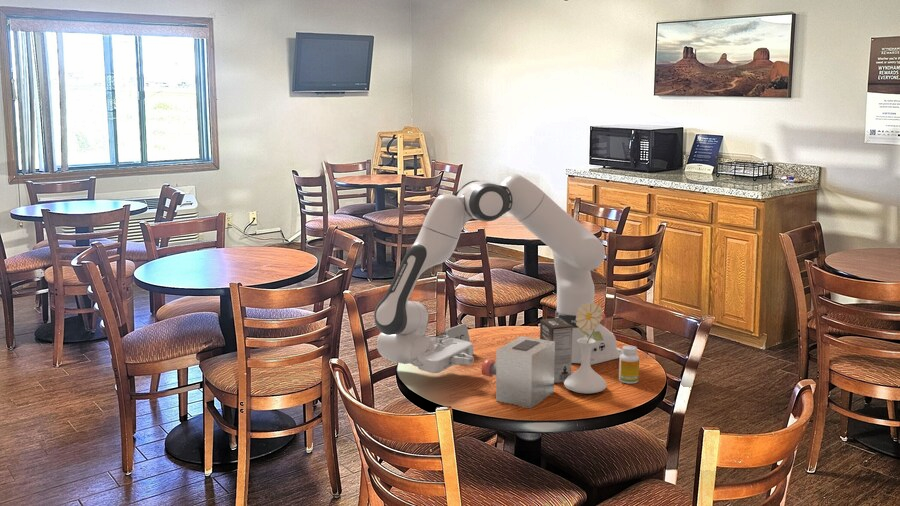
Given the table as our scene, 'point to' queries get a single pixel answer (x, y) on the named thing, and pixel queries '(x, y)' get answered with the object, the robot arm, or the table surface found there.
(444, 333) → the electrical switch
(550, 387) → the box
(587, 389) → the flower in vase
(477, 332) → the table surface
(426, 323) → the robot arm
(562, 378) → the coffee box
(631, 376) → the supplement bottle
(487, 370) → the breaker plunger
